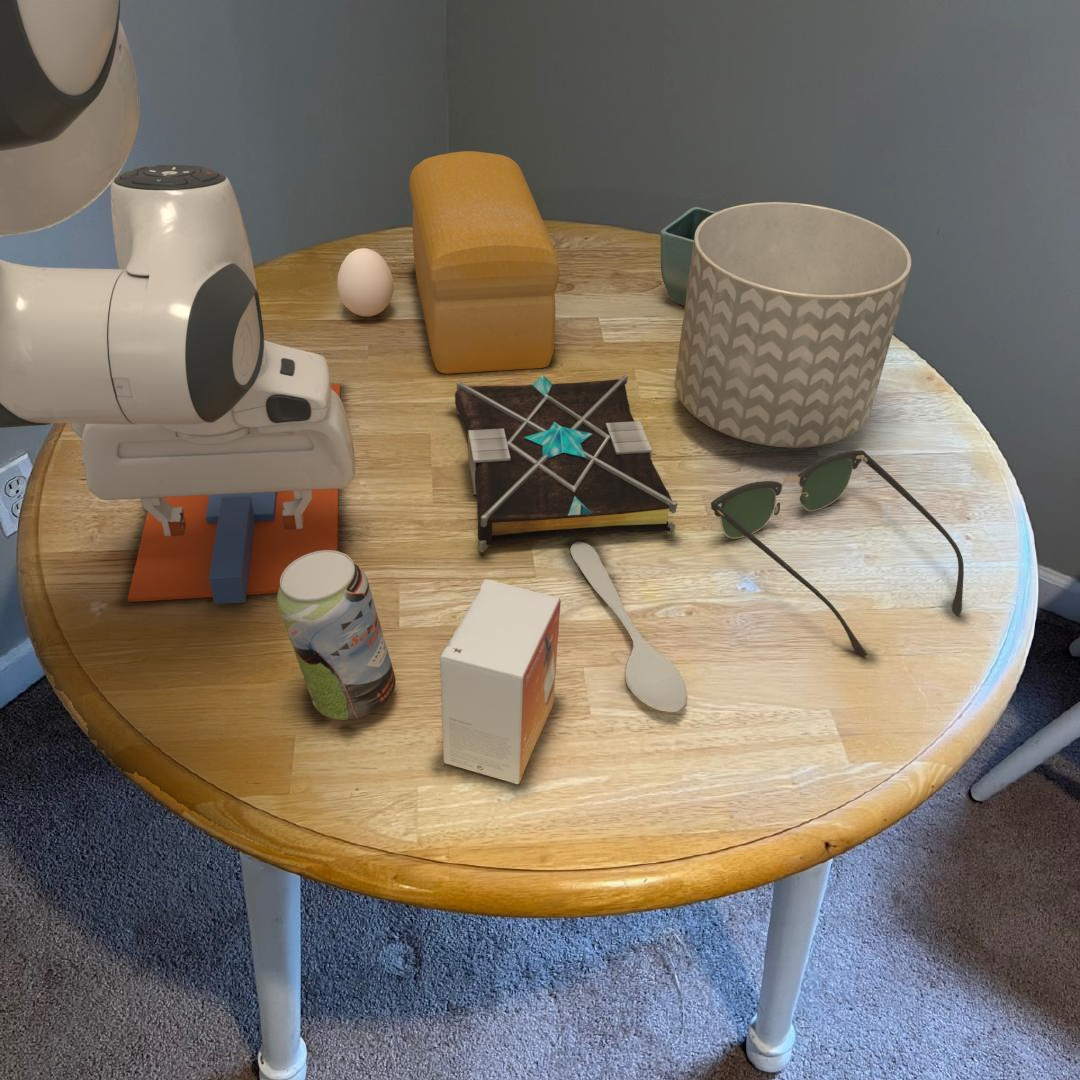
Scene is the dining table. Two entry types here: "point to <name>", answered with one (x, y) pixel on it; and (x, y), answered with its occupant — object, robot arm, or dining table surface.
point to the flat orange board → (187, 559)
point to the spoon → (635, 643)
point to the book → (559, 462)
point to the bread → (482, 264)
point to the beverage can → (336, 634)
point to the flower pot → (679, 252)
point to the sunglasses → (819, 488)
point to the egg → (365, 282)
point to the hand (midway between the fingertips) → (235, 528)
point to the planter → (788, 322)
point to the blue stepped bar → (235, 540)
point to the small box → (499, 680)
